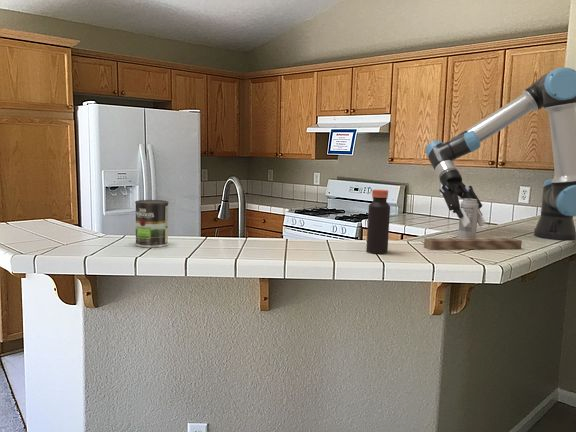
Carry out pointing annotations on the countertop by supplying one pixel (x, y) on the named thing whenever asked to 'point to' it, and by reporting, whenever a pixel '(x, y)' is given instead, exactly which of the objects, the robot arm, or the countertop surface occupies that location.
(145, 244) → the coffee can
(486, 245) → the walnut board
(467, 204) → the energy drink can
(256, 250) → the countertop surface
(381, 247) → the bottle
